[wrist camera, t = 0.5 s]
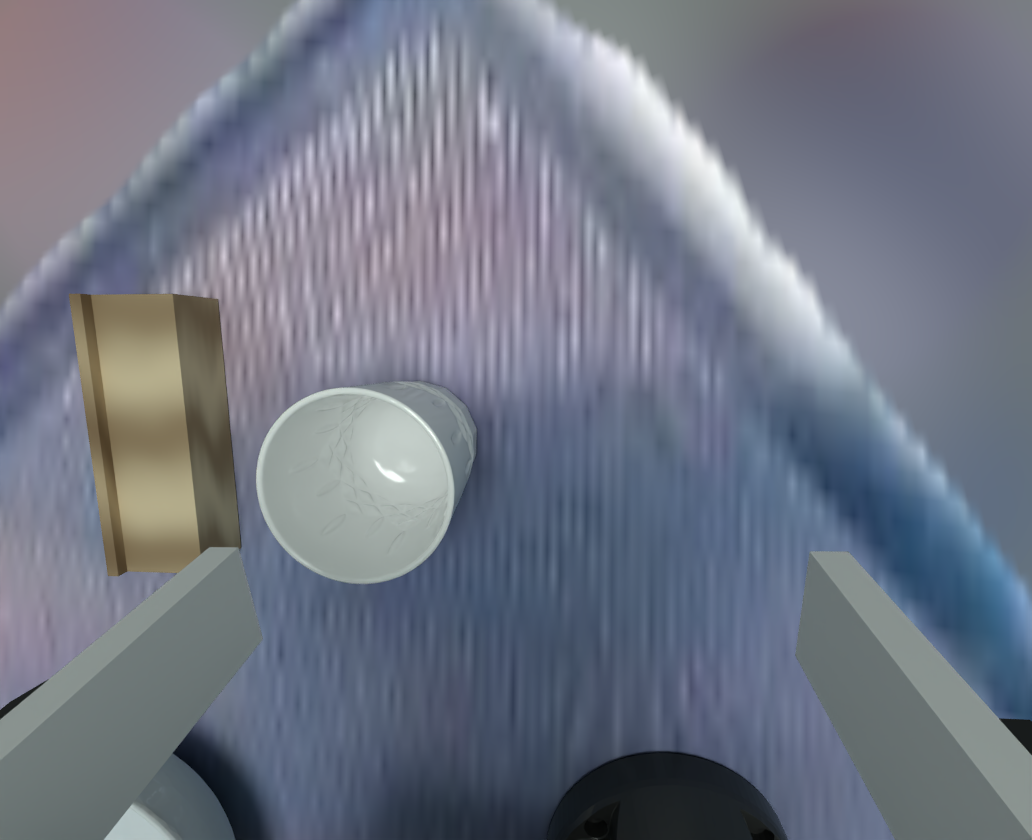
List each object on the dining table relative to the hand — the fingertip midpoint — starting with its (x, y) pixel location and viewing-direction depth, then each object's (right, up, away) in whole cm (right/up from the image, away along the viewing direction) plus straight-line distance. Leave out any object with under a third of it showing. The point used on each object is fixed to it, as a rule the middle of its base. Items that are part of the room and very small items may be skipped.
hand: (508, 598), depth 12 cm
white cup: (-5, +3, +18) cm, 19 cm away
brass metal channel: (-19, +4, +19) cm, 27 cm away
